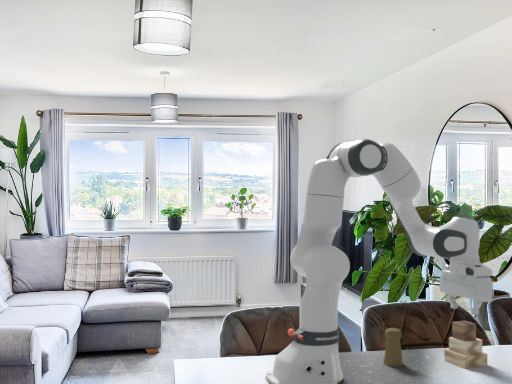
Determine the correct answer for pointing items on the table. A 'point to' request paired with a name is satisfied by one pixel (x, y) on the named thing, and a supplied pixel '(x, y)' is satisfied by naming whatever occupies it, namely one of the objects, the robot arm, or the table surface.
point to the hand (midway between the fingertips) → (464, 311)
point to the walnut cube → (464, 330)
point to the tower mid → (465, 346)
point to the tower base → (466, 359)
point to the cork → (393, 348)
